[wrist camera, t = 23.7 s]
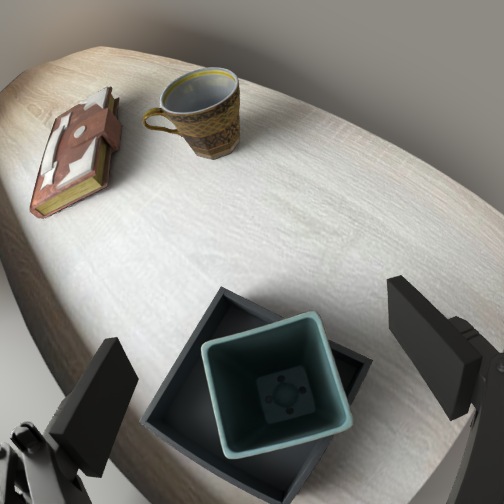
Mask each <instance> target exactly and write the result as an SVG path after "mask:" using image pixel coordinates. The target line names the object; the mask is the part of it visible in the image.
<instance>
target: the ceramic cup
mask: <svg viewBox="0 0 504 504" xmlns="http://www.w3.org/2000/svg"><path fill="white" fill-rule="evenodd" d="M160 106H161V108H153V109H150V110H149V111H147V112H146V113H145V114H144V116H143V124H144V126H145V127H146V128H148V129H151V130H160V131H166V132H169V133H174V134H178V135H180V136H181V137H184V139H185V140H186V142H187V143H188V144H189V145H190V147H191V148H192V150H193V151H194V152H195V154H196V155H197V156H200V157H204V158H207V159H211V160H213V159H216V158H219V157H222V156H225V155H228V154H230V153H231V152H232V151H233V149H234V148H235V147H236V145H237V144H238V142H239V140H240V120H239V108H240V90H239V80H238V77H237V76H236V75H235V74H234V73H233V72H232V71H230V70H227V69H223V68H203V69H198V70H195V71H192V72H189V73H187V74H184V75H182V76H180V77H179V78H177V79H175V80H174V81H173V82H171V83H170V84H169V85H168V86H167V87H166V88H165V89H164V91H163V92H162V94H161V96H160ZM153 115H161V116H164V117H166V118H167V119H168V120H170V121H171V122H172V123H173V124H174V125H175V127H176V128H177V129H174V130H172V129H168V128H165V127H158V126H151V125H148V124H147V123H146V121H145V120H146V119H147V118H148V117H150V116H153Z"/></svg>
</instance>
